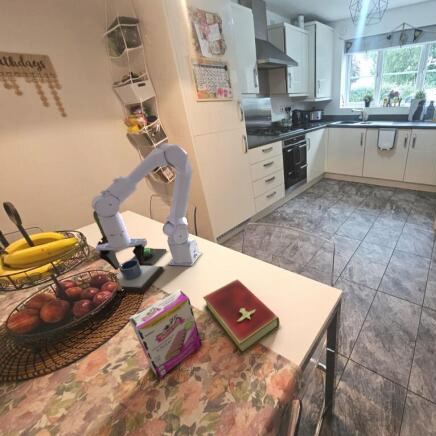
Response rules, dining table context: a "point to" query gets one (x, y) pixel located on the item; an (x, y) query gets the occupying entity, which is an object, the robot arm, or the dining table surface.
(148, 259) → the block
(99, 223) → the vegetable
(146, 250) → the button
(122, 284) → the scale
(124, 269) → the cup
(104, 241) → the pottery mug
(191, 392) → the dining table surface
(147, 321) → the candy bar box
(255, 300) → the hardcover book
